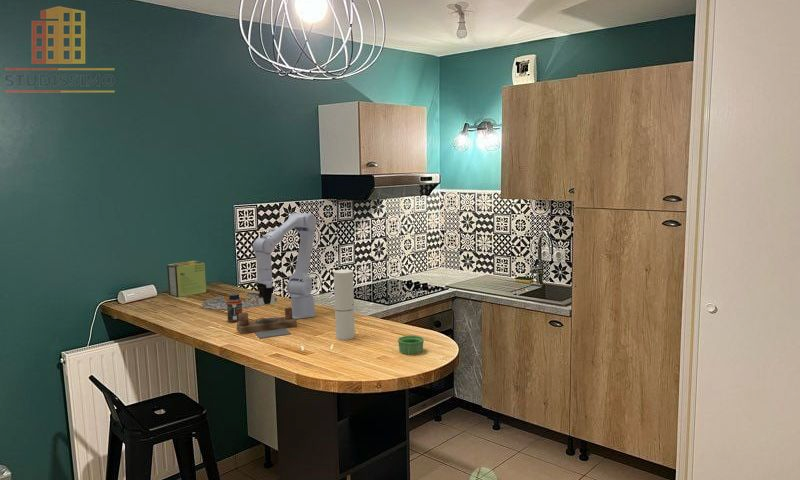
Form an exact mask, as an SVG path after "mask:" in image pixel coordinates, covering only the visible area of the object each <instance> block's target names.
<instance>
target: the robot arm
mask: <svg viewBox="0 0 800 480" xmlns="http://www.w3.org/2000/svg"><path fill="white" fill-rule="evenodd" d="M316 226H317V219H316V216H315V215H314V214H313V213H311V212H310V213H305V212H304V213H302V212H293V213H291V214H290V215H289V216H288V219H286V220H285V222H283V223H282V224H281V225H279V227H278V228H276V227H271V228H270V229H269V230H270V231H268V232H267V233H266V234H263V235H262V236H261V238H259V237H258V238H256V239H255V240H254V241H253V244H252V246H251V248H252V250H253V252H254V256H255V257H256V258H255V259H256V260H255V262H256V276H257V277H256V279H254V281H253V282H254V283H256V284H255V286H256V288H257V290H258V293H260V294H262V295H263V300H264V303H265V304H267V305H270V302H271V296H272V295H273V292H274V290H275V286H274V285H273V279H274V278H273V269H272V253H273V252H274V249H275V247H276V246H277V245H278V244H279V243H280V242H281V241H283V240H284V238H285V236H284V235H286V234H288V233H289V232H291V231H292V230H293V229H294V231H296V232H297V233H298V234H299V235H300V241H299V248H298V253H297V258H296V264H295V268H294V269H295V270H294V272H293V273H292V274H291V275H290V276H289V279H288V282H287V284H286V293H288V294H289V297H290V298H291V299H290V302H291V303H290V304H291V305H290V307H291V308H292V317H293V318H294V319H295V320H297V319H298V320H299V319H306V318H314V317H316V310H315V309H316V307H315V306H316V304H315V298H314V295H313V294H311V293H312V289H313V284H312V283H313V278H311V276H310V275H309V269H310V262H311V257H312V250H313V245H314V244H313V243H314V238H315V232H316Z"/></svg>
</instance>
